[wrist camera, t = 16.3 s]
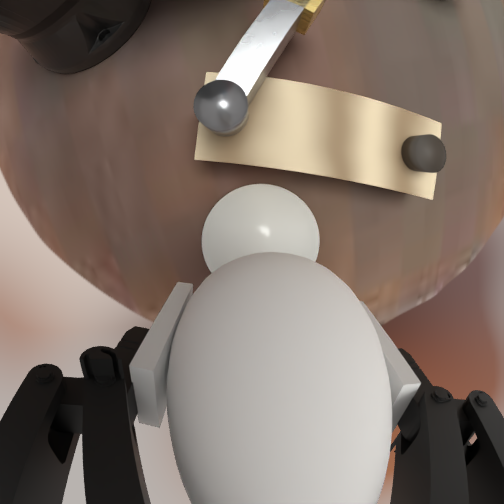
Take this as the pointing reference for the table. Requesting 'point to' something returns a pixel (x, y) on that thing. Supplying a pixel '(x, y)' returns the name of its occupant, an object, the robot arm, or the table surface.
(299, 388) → the sauce bottle
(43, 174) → the table surface
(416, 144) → the beige long block
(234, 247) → the white round disc
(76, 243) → the table surface
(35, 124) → the table surface
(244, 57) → the lever
